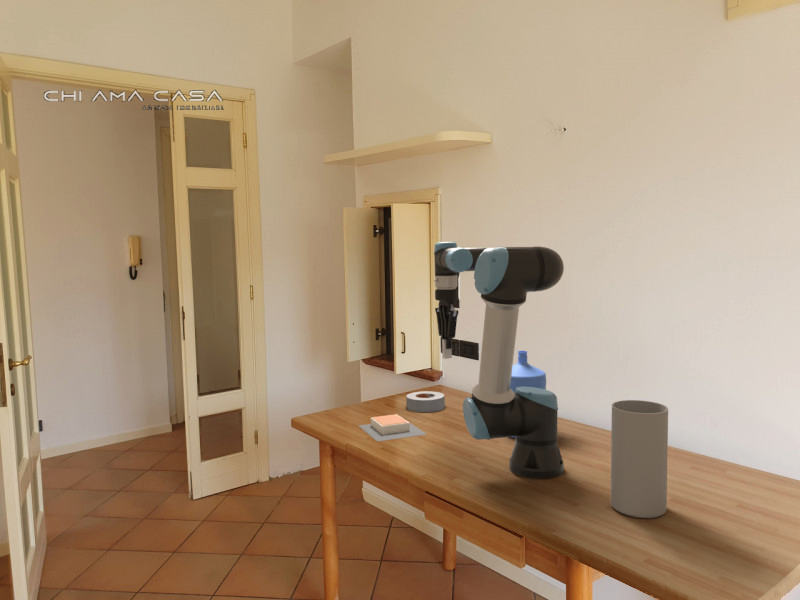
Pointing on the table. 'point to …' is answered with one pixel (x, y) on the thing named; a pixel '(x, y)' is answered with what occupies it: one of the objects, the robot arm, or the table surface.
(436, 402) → the tape roll
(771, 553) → the table surface
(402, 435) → the rubber mat
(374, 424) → the wooden plaque
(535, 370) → the water jug
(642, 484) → the cylinder vase
